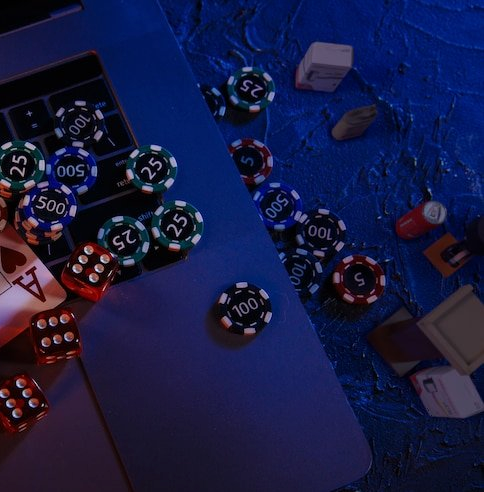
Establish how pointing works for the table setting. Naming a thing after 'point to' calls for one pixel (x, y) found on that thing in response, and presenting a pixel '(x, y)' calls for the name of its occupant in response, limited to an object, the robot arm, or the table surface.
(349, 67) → the ink box
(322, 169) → the table surface
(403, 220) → the beverage can
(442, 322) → the dock pad
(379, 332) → the stand
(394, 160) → the table surface
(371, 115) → the tan tapered block
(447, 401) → the ink box
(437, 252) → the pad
